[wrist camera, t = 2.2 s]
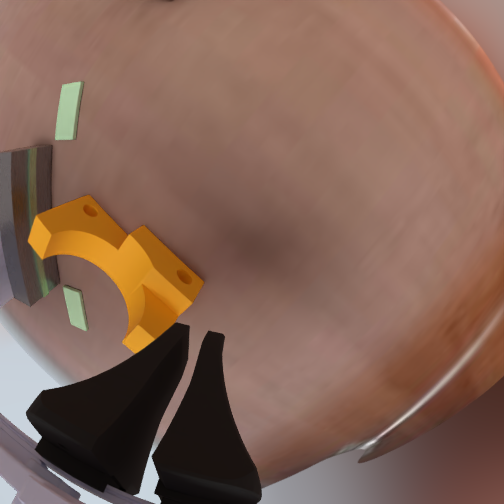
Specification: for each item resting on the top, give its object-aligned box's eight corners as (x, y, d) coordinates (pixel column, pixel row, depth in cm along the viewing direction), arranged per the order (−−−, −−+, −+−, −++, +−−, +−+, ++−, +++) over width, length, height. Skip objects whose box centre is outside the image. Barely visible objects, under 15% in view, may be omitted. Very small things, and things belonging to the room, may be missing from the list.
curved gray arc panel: (42, 275, 23) (13, 297, 19) (34, 145, 18) (-5, 153, 13) (61, 283, 23) (31, 307, 19) (53, 145, 18) (12, 152, 13)
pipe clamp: (204, 281, 21) (176, 332, 15) (174, 310, 23) (143, 360, 17) (99, 177, 19) (43, 195, 13) (78, 215, 20) (27, 241, 14)
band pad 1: (57, 139, 18) (54, 140, 17) (65, 85, 16) (62, 84, 15) (75, 139, 18) (72, 139, 17) (84, 81, 16) (81, 81, 15)
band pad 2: (72, 322, 25) (71, 324, 25) (65, 284, 23) (62, 286, 23) (88, 329, 25) (86, 331, 25) (81, 291, 23) (79, 293, 23)
